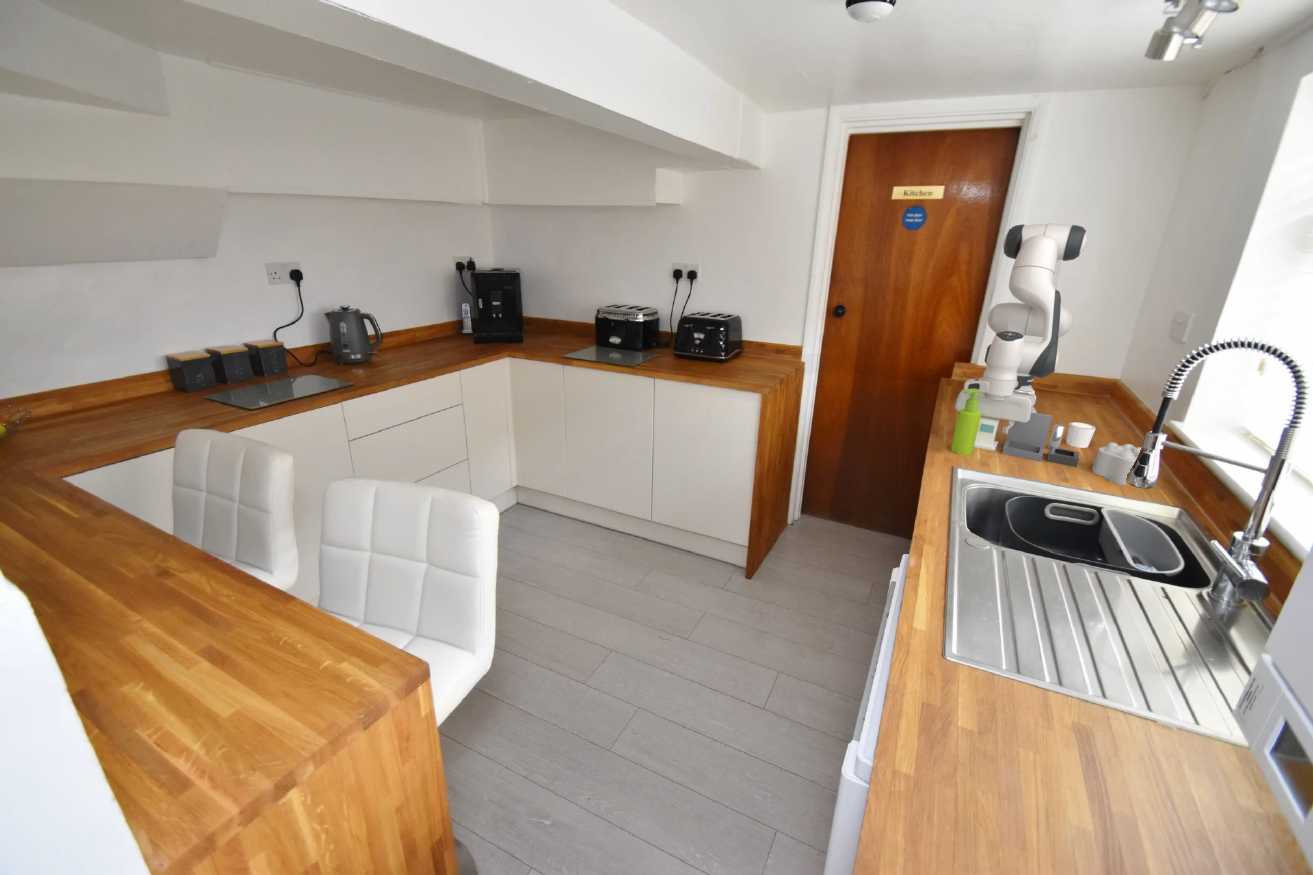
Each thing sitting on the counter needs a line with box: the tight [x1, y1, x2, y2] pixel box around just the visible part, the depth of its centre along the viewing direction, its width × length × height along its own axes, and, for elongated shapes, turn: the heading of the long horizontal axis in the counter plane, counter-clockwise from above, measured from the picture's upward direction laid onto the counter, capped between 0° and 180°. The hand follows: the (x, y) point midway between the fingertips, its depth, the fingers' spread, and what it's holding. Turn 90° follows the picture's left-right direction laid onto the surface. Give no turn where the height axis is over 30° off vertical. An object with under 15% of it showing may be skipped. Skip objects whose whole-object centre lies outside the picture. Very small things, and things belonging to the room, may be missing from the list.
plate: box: [974, 440, 999, 452], centre depth 179 cm, size 8×7×1 cm
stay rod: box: [1047, 423, 1066, 450], centre depth 176 cm, size 3×3×8 cm
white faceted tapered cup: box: [1065, 421, 1097, 449], centre depth 179 cm, size 7×7×7 cm
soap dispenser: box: [950, 389, 982, 456], centre depth 169 cm, size 6×7×20 cm
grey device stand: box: [1001, 412, 1054, 462], centre depth 171 cm, size 10×10×12 cm
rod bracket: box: [1047, 447, 1080, 468], centre depth 167 cm, size 7×7×3 cm
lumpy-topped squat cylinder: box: [1091, 441, 1142, 486], centre depth 158 cm, size 10×13×9 cm
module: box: [975, 415, 1001, 447], centre depth 177 cm, size 5×5×8 cm
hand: (987, 429), depth 177 cm, fingers open, 8 cm apart
